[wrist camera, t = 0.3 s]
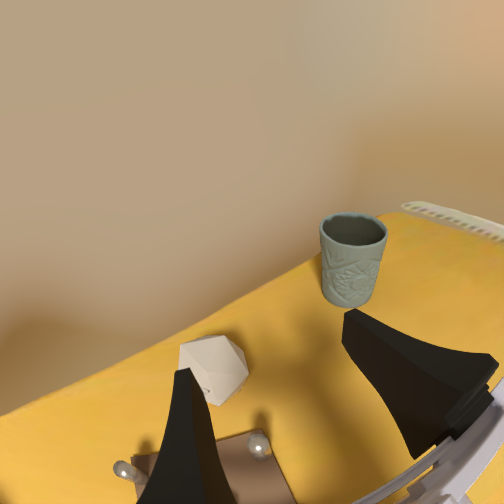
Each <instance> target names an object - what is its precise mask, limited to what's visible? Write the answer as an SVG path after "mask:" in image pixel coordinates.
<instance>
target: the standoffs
mask: <svg viewBox="0 0 504 504" xmlns="http://www.w3.org/2000/svg"><path fill="white" fill-rule="evenodd" d="M247 447H248V449H249V450H250V452H251V454H252V455H253V457H254V458H255V459H256V460H257V461H267V460H268V459H270V457H271V455H272V451H271V448H270V444H269V441H268V439H267V437H266V436H265V435H263V434H253V435H251V436H250V437H249V438H248V440H247ZM113 471H114V473H115V474H116V475H117V476H118V477H121V478H123V479H125V480H128V481H130V482H133V483H135V484H138V485H142V486H143V485H146V484H147V482H148V480H149V476H148V474H147V473H146V472H144V471H142V470H140V469H138V468H136V467H134V466H132V465H130V464H128V463H127V462H125V461H117V462H116V463H115V464H114V466H113Z"/></svg>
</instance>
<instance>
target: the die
mask: <svg viewBox="0 0 504 504" xmlns="http://www.w3.org/2000/svg"><path fill="white" fill-rule="evenodd" d="M189 367H190V369H191V371H192V373H193V374H194V376H195V378H196V380H197V382H198V384H199V385H200V387H201V389H202V391H203V393H204V396H205V399H206V401H207V402H209V403H212V404H214V405H217V406H221V405H222V404H223V403H225V402H226V401H227V400H229V399H230V398H231V397H232V396H234V395H235V394H236V393H237V392H239V391H240V390H241V388H242V386H243V385H244V383H245V381H246V379H247V377H248V375H249V371H248V367H247V363H246V360H245V356H244V352H243V350H241V349H240V348H239V347H238V346H237V345H235V344H234V343H233V342H232V341H231V340H229V339H228V338H227V337H226V336H225V335H206V336H203V337H200V338H197V339H195V340H192V341H189V342H186V343H183V344H180V355H179V367H178V370H181V369H185V368H189Z"/></svg>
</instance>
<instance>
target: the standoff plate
mask: <svg viewBox="0 0 504 504" xmlns="http://www.w3.org/2000/svg"><path fill="white" fill-rule="evenodd" d="M253 434H263V435H264V432H263V430H262V429H259V430H256V431H252V432H249V433H246V434H243V435H240V436H236V437H233V438H229V439H225V440H222V441H218V442H216V446H217V451H218V455H219V458H220V462H221V465H222V467H223V470H224V473H225V476H226V478H227V481H228V483H229V486H230V488H231V491H232V493H233V495H234V498H235V500H236V502H237V504H296V502H295V500H294V498H293V496H292V494H291V492H290V490H289V488H288V486H287V484H286V481H285V479H284V477H283V475H282V473H281V471H280V469H279V466H278V464H277V462H276V460H275V458H274V455H273V453H272V455H271V457H270V459H268V460H267V461H257V460H256V459H255V458H254V457H253V455H252V454H251V452H250V450H249V449H248V447H247V440H248V438H249V437H250V436H251V435H253ZM157 457H158V454H152V455H144V456H135V457H131V464H132V466H134V467H136V468H138V469H140V470H142V471H144V472H146V473H147V474H148V476H149V477H150V475H151V473H152V470H153V468H154V465H155V462H156V460H157ZM145 486H146V485H143V486H142V485H138V484H135V488H136V494H137V498H138V499H139V498H140V496H141V494H142V492H143V490H144V488H145Z"/></svg>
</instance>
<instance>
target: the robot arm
mask: <svg viewBox="0 0 504 504" xmlns="http://www.w3.org/2000/svg"><path fill="white" fill-rule="evenodd" d="M342 344H343V346H344V347H345V349H346V351H347V352H348V354H349V356H350V357H351V359H352V360H353V361H354V363H355V364H356V365H357V367H358V368H359V369H360V370H361V372H362V373H363V374H364V375H365V377H366V378H367V379H368V380H369V382H370V383H371V384H372V385H373V387H374V388H375V389H376V390H377V392H378V393H379V394H380V396H381V397H382V399H383V401H384V402H385V404H386V406H387V407H388V409H389V411H390V413H391V414H392V416H393V418H394V420H395V422H396V424H397V426H398V428H399V430H400V432H401V434H402V436H403V438H404V440H405V443H406V445H407V447H408V450H409V453H410V455H411V456H412V458H413V459H414V460H415V459H417V458H418V457H419V456H421V455H422V454H423V453H425V452H426V451H427V450H428V449H430V448H431V447H432V446H433V445H434V444H435V445H436V446H437V447H436V448H435V449H434V450H432V451H431V452H430V453H429V454H427V455H426V456H425V457H424V458H422V459H421V460H420V461H418V462H417V463H416V464H414V465H413V466H412V467H410V468H409V469H407V470H406V471H405V472H403V473H402V474H400V475H399V476H397V477H396V478H394V479H393V480H391V481H389V482H388V483H386V484H385V485H383V486H381V487H380V488H378V489H376V490H375V491H373V492H371V493H370V494H368V495H366V496H364V497H362V498H360V499H359V500H357V501H355V502H353V503H351V504H376V503H378V502H380V501H382V500H383V499H385V498H386V497H388V496H390V495H391V494H393V493H394V492H396V491H397V490H399V489H400V488H402V487H403V486H405V485H406V484H408V483H409V482H410V481H412V480H413V479H415V478H416V477H417V476H419V475H420V474H421V473H423V472H424V471H425V470H426V469H428V468H429V467H430V466H432V465H433V469H432V470H430V471H429V472H428V473H426V474H425V475H423V476H422V477H420V478H419V479H418V480H416V481H415V482H414V483H413V484H411V485H410V486H409V487H408V488H407V490H408V492H409V494H407V495H406V496H404V497H403V498H401V499H400V500H398V501H397V502H395V503H393V504H473V503H472V502H471V500H470V499H469V498H468V496H467V495H466V494H465V493H466V492H467V491H468V489H469V488H470V487H471V486H472V485H473V483H474V482H475V481H476V480H477V479H478V477H479V476H480V475H481V473H482V472H483V471H484V470H485V468H486V467H487V466H488V464H489V463H490V461H491V460H492V459H493V457H494V456H495V454H496V453H497V451H498V450H499V448H500V447H501V445H502V444H503V442H504V377H502V379H501V380H500V381H499V383H498V384H497V385H496V386H495V388H494V389H493V390H492V391H491V392H490V393H489V392H488V391H487V390H488V389H489V386H488V385H487V384H486V383H487V382H488V380H489V379H490V378H491V376H492V375H493V374H494V372H495V371H496V369H497V368H498V366H499V363H498V362H497V361H496V360H495V359H494V358H493V357H492V356H491V355H490V354H487V353H470V352H463V351H457V350H451V349H447V348H443V347H439V346H436V345H432V344H429V343H426V342H423V341H421V340H418V339H415V338H413V337H411V336H408V335H406V334H404V333H402V332H400V331H397V330H395V329H393V328H391V327H389V326H387V325H385V324H384V323H382V322H380V321H378V320H376V319H374V318H372V317H371V316H369V315H367V314H365V313H363V312H361V311H359V310H358V309H356V308H354V309H352V310H350V311H348V312H345V313H344V322H343V332H342ZM136 504H237V502H236V500H235V498H234V495H233V493H232V491H231V488H230V486H229V483H228V481H227V478H226V476H225V473H224V470H223V467H222V465H221V462H220V458H219V455H218V451H217V446H216V441H215V437H214V432H213V427H212V422H211V417H210V412H209V409H208V406H207V402H206V399H205V396H204V393H203V391H202V389H201V387H200V385H199V384H198V382H197V380H196V378H195V376H194V374H193V373H192V371H191V369H190V367H189V368H185V369H181V370H177V371H176V372H175V373H174V385H173V393H172V400H171V405H170V411H169V416H168V421H167V425H166V429H165V434H164V437H163V441H162V444H161V448H160V451H159V454H158V457H157V460H156V462H155V465H154V468H153V470H152V473H151V475H150V477H149V480H148V482H147V484H146V486H145V488H144V490H143V492H142V494H141V496H140V498H139V499H138V501H137V503H136Z"/></svg>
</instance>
